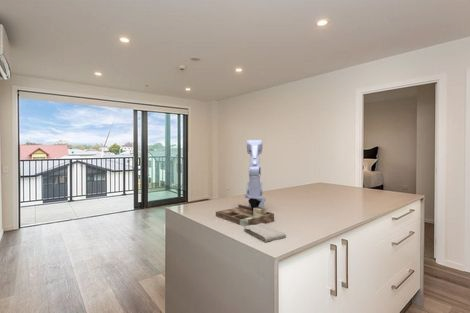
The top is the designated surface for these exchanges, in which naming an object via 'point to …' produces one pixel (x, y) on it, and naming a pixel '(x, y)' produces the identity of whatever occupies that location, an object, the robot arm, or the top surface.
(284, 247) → the top surface
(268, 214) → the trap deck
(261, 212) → the birch block
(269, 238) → the washcloth
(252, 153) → the robot arm
